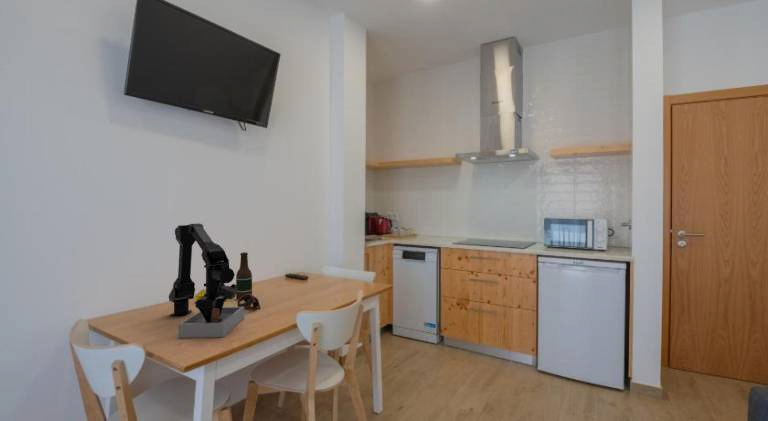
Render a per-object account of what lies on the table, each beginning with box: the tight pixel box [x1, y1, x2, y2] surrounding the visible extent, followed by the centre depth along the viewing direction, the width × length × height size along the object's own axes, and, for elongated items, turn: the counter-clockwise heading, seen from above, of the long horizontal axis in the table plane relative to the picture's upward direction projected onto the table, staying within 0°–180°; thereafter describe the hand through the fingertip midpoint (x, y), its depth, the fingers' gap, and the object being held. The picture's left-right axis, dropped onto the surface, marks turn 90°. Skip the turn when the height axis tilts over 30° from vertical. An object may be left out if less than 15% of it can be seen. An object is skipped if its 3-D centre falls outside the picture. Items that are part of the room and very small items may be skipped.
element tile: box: [195, 288, 230, 303], centre depth 184 cm, size 15×15×5 cm
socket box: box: [177, 306, 245, 339], centre depth 140 cm, size 22×16×5 cm
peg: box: [211, 308, 219, 323], centre depth 140 cm, size 4×4×7 cm
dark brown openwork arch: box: [236, 293, 261, 310], centre depth 166 cm, size 12×10×8 cm
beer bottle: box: [235, 251, 253, 302], centre depth 184 cm, size 8×8×24 cm
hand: (213, 319), depth 140 cm, fingers open, 9 cm apart
